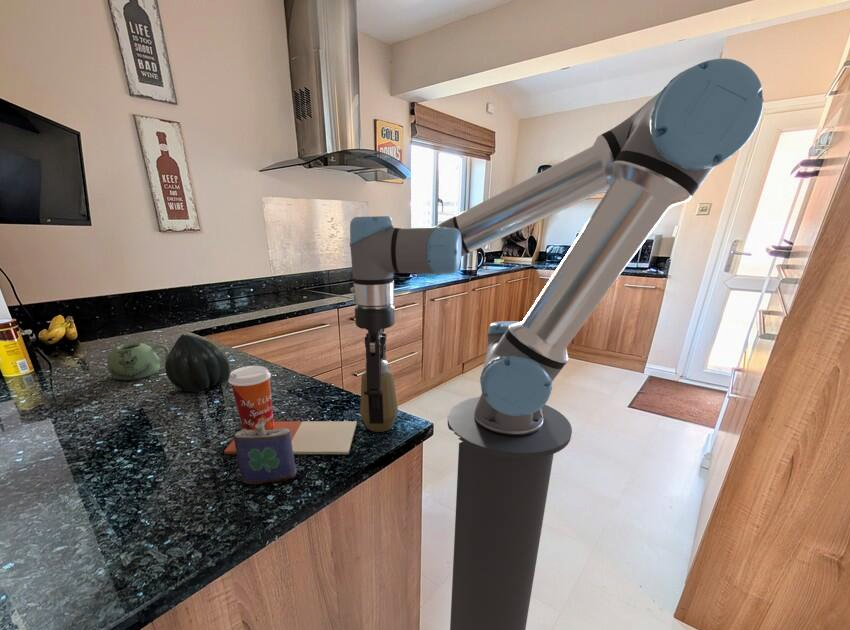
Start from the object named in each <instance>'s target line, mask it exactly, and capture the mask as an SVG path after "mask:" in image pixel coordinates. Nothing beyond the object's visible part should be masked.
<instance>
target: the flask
mask: <svg viewBox="0 0 850 630" xmlns="http://www.w3.org/2000/svg"><path fill="white" fill-rule="evenodd" d="M260 423H262V424H256V426H255V428H256V429H255V430H254V431H251V430H246V429H244V430H242V429H241V430H242V431H241V430H239V431H236V432H235V433H234V435H233V440H234V442H235V447H236V452H237V454H236V456H237V461H238V468H239V472H240V476H241V477H240V478H241V479H242V482H243V483H245V484H266V483H274V482H282V481H288V480H290V479H291V480H292V479H294V478H295V477H296V474H297V467H296V462H295V454H293V449H292V442H291V433H290V430H289V429H287V428H281V429H275V430H265V428H264V425H265V424H266V423H265V422H260Z"/></svg>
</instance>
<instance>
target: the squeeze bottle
mask: <svg viewBox="0 0 850 630" xmlns="http://www.w3.org/2000/svg"><path fill="white" fill-rule="evenodd" d="M388 366H389V361H387V360H386V361H385V360H382V371H381V390H382V392H383V418H384V423H383V424H370V418H369V400H368V396H367V395H364V391H367V369H366V368H365V371H364V372H362V374H361V383H360V404H359V405H360V406H359V414H360V416H361V419H362V422H363V423H364V426H365V427H366V429H367V430H369V431H370V432H374V433H375V432H376V433H383V432H387V431H390V430H391V429H392V428H393V427H394V424H395V422H396V419H397V417H398V413H399V410H398V408H399V407H398V401H397V394H396V386H395V377H394V373H393V372H392V371H390V367H389V368H388Z"/></svg>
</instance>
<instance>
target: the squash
mask: <svg viewBox="0 0 850 630" xmlns="http://www.w3.org/2000/svg"><path fill="white" fill-rule="evenodd" d="M169 352H170V353H169V354H168V356H167V358H166V360H165V361H164V362H165V363H164V367H165V368H164V370H165V374H166V376H167V378H168V380H169V381H170V382H171V384H172V385H174V387H176V388H177V389H179V390H181V391H187V392H190V393H198V392H200V391H201V390H202V389H208V388H209V387H210V386H221V385H223V384H224V383H226V382H227V381H228V380H229V378H230V373H231V365H230V362H229V359H228V357H227V355H226V353H224V351H223V350H222V348H220V347H219V346H218V345H217V344H216V343H214V342H213V341H209V340H207V339H205V338H201V337H199V336H198V337H197V336H194V335H192V334H191V335H190V334H185V333H183V334H181V335H180V336H179V337H178V338H177V340H176V341H175V343H174V345H173V346H172V348H171V349H170V350H169Z"/></svg>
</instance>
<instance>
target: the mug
mask: <svg viewBox="0 0 850 630" xmlns="http://www.w3.org/2000/svg"><path fill="white" fill-rule="evenodd" d="M160 348H163V349H164V350H165V352H166V354H165V355H164V356H162V357H160V356H158V354H157V351H158V350H159V349H160ZM169 353H170V350H169V348H168V346H166V345H165V344H157V345H155V346H154V347H151V346H149V345H147V344H146V343H141V342H140V343H139V342H134V343H133V342H132V343H125V344H121V345H118V346H116V347H114V348H112V349H111V350H110V351H109V353H108V356H107V359H106V365H107V370H108V372H109V374H110V376H111V377H112V378H113V379H115V380H119V381H133V380H134V381H135V380H140V379H144V378H147V377H150V376H152V375H154V374H156V373H157V372H158V371H159V370H160V368H161V365H162V364H163V363H164V362H166V358H167V356H168V354H169Z"/></svg>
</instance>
